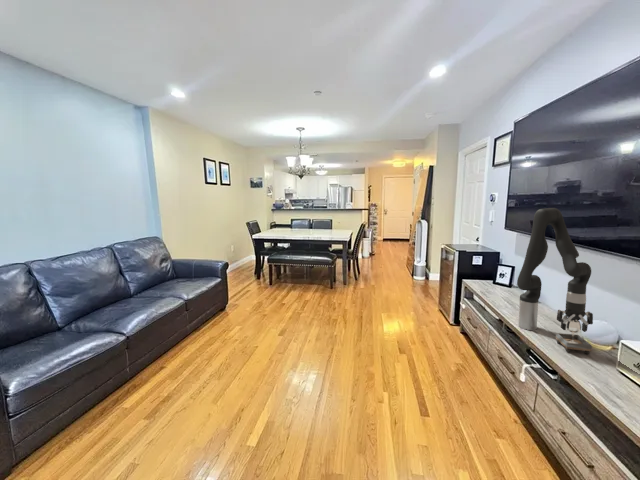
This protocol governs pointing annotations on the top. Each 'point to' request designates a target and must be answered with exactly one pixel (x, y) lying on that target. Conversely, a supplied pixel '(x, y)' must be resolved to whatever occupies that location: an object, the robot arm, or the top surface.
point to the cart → (580, 346)
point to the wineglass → (573, 328)
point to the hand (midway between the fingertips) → (573, 330)
